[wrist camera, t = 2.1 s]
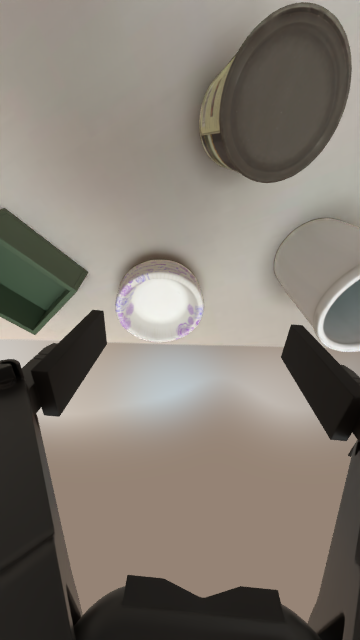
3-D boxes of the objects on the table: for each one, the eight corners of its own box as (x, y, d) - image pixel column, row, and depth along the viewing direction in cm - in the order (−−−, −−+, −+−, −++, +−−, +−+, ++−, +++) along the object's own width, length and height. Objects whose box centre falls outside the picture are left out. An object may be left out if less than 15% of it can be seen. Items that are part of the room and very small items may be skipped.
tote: (-31, 265, 39) (-61, 284, 33) (4, 207, 33) (-26, 220, 28) (49, 312, 46) (35, 335, 41) (88, 272, 41) (76, 291, 36)
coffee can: (276, 157, 31) (336, 166, 21) (205, 177, 32) (226, 195, 22) (281, 47, 25) (372, -25, 14) (192, 76, 26) (212, 29, 15)
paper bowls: (192, 320, 49) (197, 345, 43) (123, 316, 48) (117, 342, 42) (205, 255, 40) (212, 275, 34) (119, 247, 38) (110, 268, 32)
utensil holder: (253, 273, 43) (294, 335, 29) (312, 195, 35) (406, 231, 21) (307, 299, 48) (364, 363, 34) (370, 236, 40) (477, 286, 26)
